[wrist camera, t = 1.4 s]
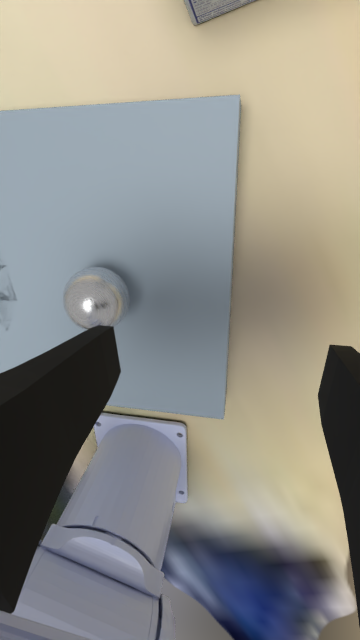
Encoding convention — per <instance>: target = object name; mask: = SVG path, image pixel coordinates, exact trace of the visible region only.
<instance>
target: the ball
mask: <svg viewBox="0 0 360 640" xmlns="http://www.w3.org/2000/svg"><path fill="white" fill-rule="evenodd" d="M63 306H64V310H65V312H66V314H67V316H68V317H69V319H70V320H71V321H72V322H73V323H74V324H75V325H76V326H78V327H79V328H81V329H84V330H88V329H90V328H92V327H95V326H97V325H103V326H114V327H115V326H117V325H118V324H119V323H120V322H121V321H122V320H123V319H124V318H125V316H126V314H127V312H128V309H129V306H130V295H129V291H128V288H127V286H126V284H125V282H124V281H123V279H122V278H121V277H120V276H119V275H118V274H116V273H115V272H113V271H111V270H109V269H107V268H103V267H89V268H85V269H82V270H80V271H78V272H77V273H75V274H74V275H73V276H72V277H71V278H70V279H69V281H68V282H67V284H66V286H65V288H64V291H63Z"/></svg>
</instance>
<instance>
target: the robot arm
mask: <svg viewBox="0 0 360 640" xmlns="http://www.w3.org/2000/svg"><path fill="white" fill-rule="evenodd" d="M120 373H121V368H120V362H119V356H118V350H117V344H116V338H115V332H114V326H103V325H97V326H95V327H92V328H90V329H88V330H86V331H84V332H82V333H80V334H78V335H76V336H75V337H73V338H71V339H69V340H67V341H65V342H63V343H62V344H60V345H58V346H56V347H54V348H52V349H50V350H49V351H47V352H45V353H43V354H41V355H39V356H37V357H35V358H32V359H30V360H28V361H26V362H24V363H22V364H20V365H18V366H16V367H14V368H12V369H9V370H7V371H5V372H2V373H0V640H175V633H176V626H175V617H174V614H173V611H172V606H171V602H170V599H169V598H168V597H167V596H165V595H163V594H161V589H162V584H163V579H164V573H163V572H161V571H160V570H161V567H162V563H163V559H164V554H165V549H166V545H167V540H168V536H169V531H170V526H171V522H172V517H173V513H174V508H175V503H176V502H179V503H186V502H187V499H188V484H187V431H186V426H185V424H183V423H179V422H172V421H164V420H156V419H148V418H140V417H132V416H124V415H116V414H108V413H102V411H103V409H104V408H105V406H106V404H107V402H108V401H109V399H110V397H111V395H112V393H113V391H114V388H115V386H116V384H117V381H118V378H119V376H120ZM318 399H319V408H320V416H321V424H322V428H323V432H324V436H325V440H326V444H327V447H328V451H329V455H330V459H331V463H332V466H333V470H334V474H335V478H336V482H337V485H338V489H339V493H340V497H341V502H342V507H343V512H344V518H345V524H346V530H347V537H348V543H349V550H350V556H351V564H352V571H353V578H354V585H355V593H356V601H357V609H358V617H359V626H360V353H358V352H357V351H356V350H355V349H354V348H353V347H351V346H339V345H330V346H329V350H328V355H327V359H326V363H325V367H324V371H323V376H322V380H321V384H320V388H319V393H318ZM99 422H100V423H99ZM93 426H94V430H95V436H96V441H97V446H98V448H97V450H96V452H95V454H94V456H93V458H92V460H91V461H90V463H89V465H88V467H87V469H86V471H85V473H84V474H83V476H82V478H81V480H80V482H79V484H78V486H77V487H76V489H75V491H74V493H73V495H72V497H71V499H70V500H69V502H68V504H67V506H66V508H65V510H64V512H63V513H62V515H61V517H60V519H59V521H58V523H57V525H55V524H52V525H51V527H50V529H49V531H48V532H47V534H46V536H45V538H44V540H43V541H42V540H40V539H41V536H42V534H43V531H44V529H45V526H46V524H47V521H48V519H49V516H50V514H51V512H52V509H53V507H54V504H55V502H56V500H57V497H58V495H59V493H60V490H61V488H62V486H63V484H64V482H65V479H66V477H67V475H68V473H69V471H70V468H71V466H72V464H73V462H74V460H75V458H76V456H77V454H78V452H79V450H80V449H81V447H82V445H83V443H84V442H85V440H86V438H87V437H88V435H89V433H90V432H91V430H92V428H93ZM179 433H182V434H179ZM41 542H42V543H41Z"/></svg>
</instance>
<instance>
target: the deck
mask: <svg viewBox="0 0 360 640" xmlns="http://www.w3.org/2000/svg"><path fill="white" fill-rule="evenodd" d="M240 117H241V100H240V95H230V96H215V97H200V98H185V99H171V100H156V101H141V102H126V103H112V104H97V105H82V106H67V107H53V108H38V109H23V110H8V111H0V373H2V372H5V371H7V370H9V369H12V368H14V367H16V366H18V365H20V364H22V363H24V362H26V361H28V360H30V359H32V358H35V357H37V356H39V355H41V354H43V353H45V352H47V351H49V350H50V349H52V348H54V347H56V346H58V345H60V344H62V343H63V342H65V341H67V340H69V339H71V338H73V337H75V336H76V335H78V334H80V333H82V332H84V331H86V330H84V329H81V328H79V327H78V326H76V325H75V324H74V323H73V322H72V321H71V320H70V319H69V317H68V316H67V314H66V312H65V310H64V306H63V291H64V288H65V286H66V284H67V282H68V281H69V279H70V278H71V277H72V276H73V275H74V274H75V273H77V272H78V271H80V270H82V269H85V268H89V267H103V268H107V269H109V270H111V271H113V272H115V273H116V274H118V275H119V276H120V277H121V278H122V279H123V281H124V282H125V284H126V286H127V288H128V291H129V295H130V306H129V309H128V312H127V314H126V316H125V318H124V319H123V320H122V321H121V322H120V323H119V324H118V325H117V326H115V327H114V332H115V338H116V344H117V350H118V356H119V362H120V368H121V373H120V376H119V378H118V381H117V384H116V386H115V388H114V391H113V393H112V395H111V397H110V399H109V401H108V402H107V404H106V405H109V406H117V407H126V408H134V409H142V410H150V411H159V412H167V413H175V414H183V415H191V416H200V417H208V418H216V419H224V412H225V401H226V388H227V368H228V349H229V330H230V310H231V291H232V272H233V253H234V233H235V214H236V195H237V175H238V156H239V137H240Z"/></svg>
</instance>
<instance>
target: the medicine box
mask: <svg viewBox="0 0 360 640" xmlns="http://www.w3.org/2000/svg"><path fill="white" fill-rule="evenodd" d="M252 1H255V0H184V2H185V5H186V7H187V10H188V12H189V15H190V18H191V21H192V23H193V24H194V25H197V24H200V23H202V22H205V21H207V20H209V19H212V18H214V17H216V16H219V15H221V14H224V13H226V12H228V11H231V10H233V9H236V8H238V7H240V6H243V5H245V4H248V3H250V2H252Z"/></svg>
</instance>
